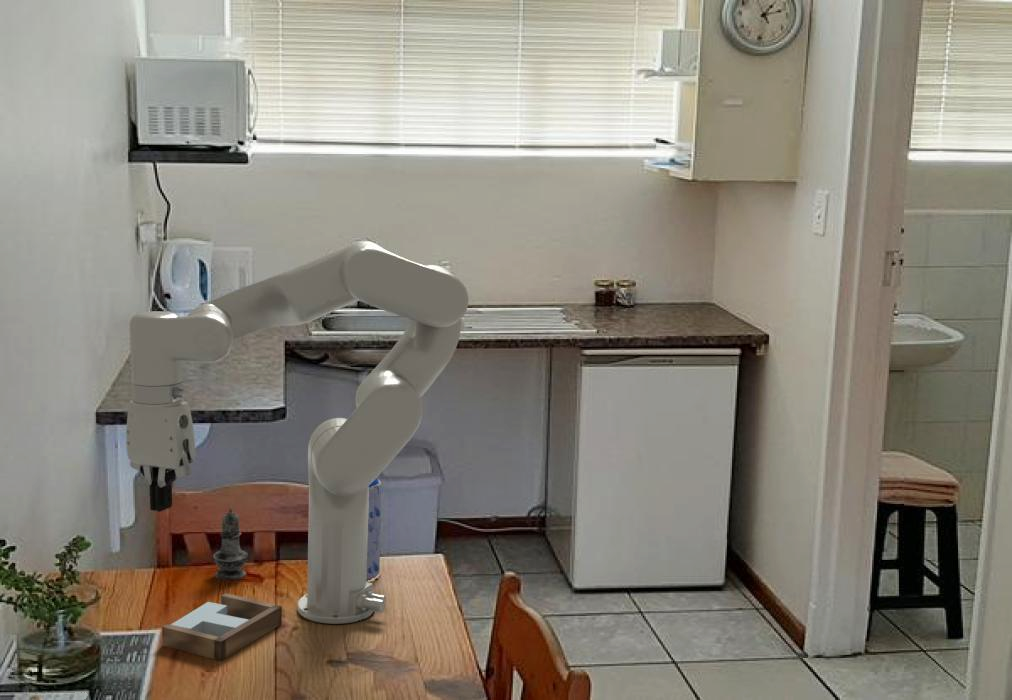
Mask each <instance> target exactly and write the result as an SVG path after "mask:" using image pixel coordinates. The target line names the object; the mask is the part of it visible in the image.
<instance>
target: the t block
mask: <svg viewBox="0 0 1012 700" xmlns="http://www.w3.org/2000/svg"><path fill="white" fill-rule="evenodd" d="M246 621H248V619H243V618H239V617H234V616H230V615H227V605H221V604H220V603H215V602H211V601H207V602H205V603H204V604H202V605H200V606H199V607H197V608H196V609H194V610H192V611H191V612H189V613H188V614H186V615H184V616H182V617H180V618H179V619H178V620H176V621H174V622H173V623H171V624H170V625H174V626H178V627H182V628H186V629H190V630H194V631H198V632H202V633H206V634H209V635H213V636H217V637H220V636H222V635H224V634H225V633H227V632H229V631H231V630H232V629H234V628H236V627H238V626H239V625H241V624H243V623H244V622H246Z"/></svg>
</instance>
